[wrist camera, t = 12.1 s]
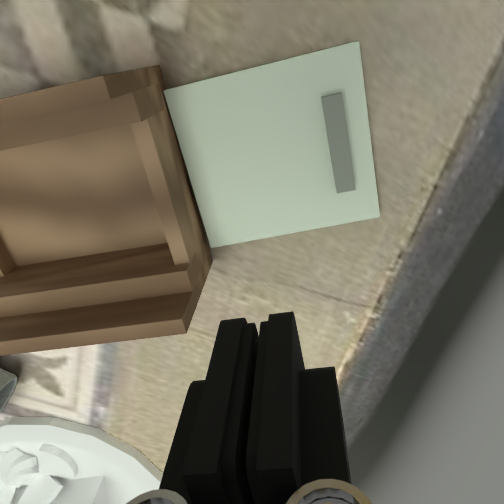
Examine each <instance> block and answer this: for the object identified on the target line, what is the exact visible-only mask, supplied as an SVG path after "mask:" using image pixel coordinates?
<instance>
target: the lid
mask: <svg viewBox="0 0 504 504" xmlns="http://www.w3.org/2000/svg"><path fill="white" fill-rule="evenodd" d="M164 95H165V98H166V101H167V105H168V108H169V111H170V115H171V118H172V121H173V124H174V128H175V131H176V134H177V138H178V141H179V144H180V148H181V151H182V154H183V157H184V161H185V164H186V167H187V171H188V174H189V177H190V181H191V184H192V187H193V191H194V194H195V197H196V200H197V204H198V207H199V210H200V214H201V217H202V220H203V224H204V227H205V230H206V233H207V237H208V240H209V243H210V247H211V248H214V247H219V246H225V245H230V244H236V243H241V242H247V241H252V240H257V239H263V238H268V237H274V236H279V235H285V234H290V233H296V232H301V231H307V230H312V229H318V228H323V227H328V226H334V225H339V224H345V223H350V222H356V221H361V220H367V219H372V218H378V217H380V212H379V204H378V195H377V187H376V179H375V170H374V162H373V154H372V145H371V137H370V129H369V120H368V112H367V104H366V95H365V87H364V79H363V70H362V62H361V54H360V45H359V41H355V42H351V43H347V44H343V45H339V46H335V47H331V48H327V49H323V50H319V51H316V52H312V53H308V54H304V55H300V56H296V57H292V58H288V59H284V60H280V61H276V62H272V63H268V64H264V65H260V66H257V67H253V68H249V69H245V70H241V71H237V72H233V73H229V74H225V75H221V76H217V77H213V78H209V79H205V80H201V81H198V82H194V83H190V84H186V85H182V86H178V87H174V88H170V89H166V90H164Z"/></svg>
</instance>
